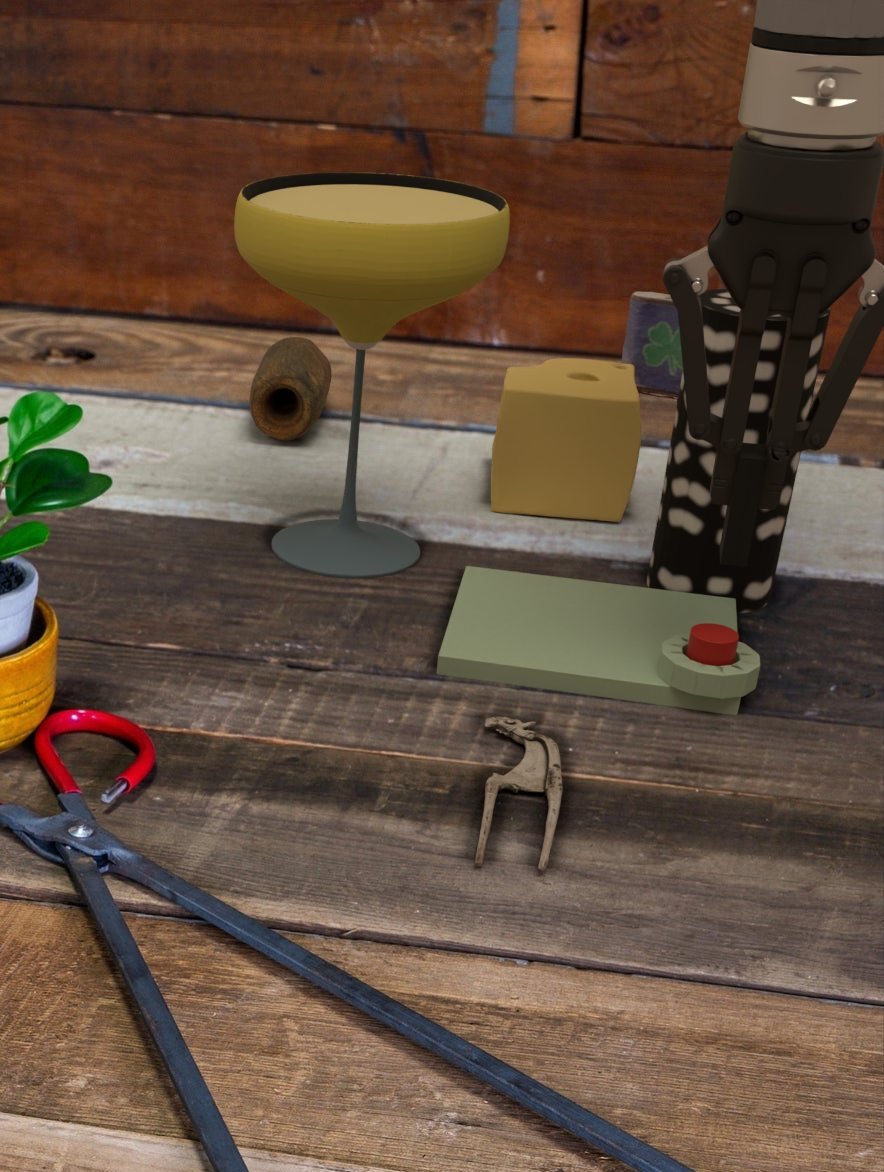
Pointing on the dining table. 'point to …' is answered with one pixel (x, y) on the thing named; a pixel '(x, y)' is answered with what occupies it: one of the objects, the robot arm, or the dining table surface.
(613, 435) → the cheese
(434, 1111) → the dining table surface
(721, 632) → the button
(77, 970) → the dining table surface
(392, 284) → the cocktail glass
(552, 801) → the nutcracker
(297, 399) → the brown hollow cylinder
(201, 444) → the dining table surface
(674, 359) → the flask
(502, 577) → the scale
